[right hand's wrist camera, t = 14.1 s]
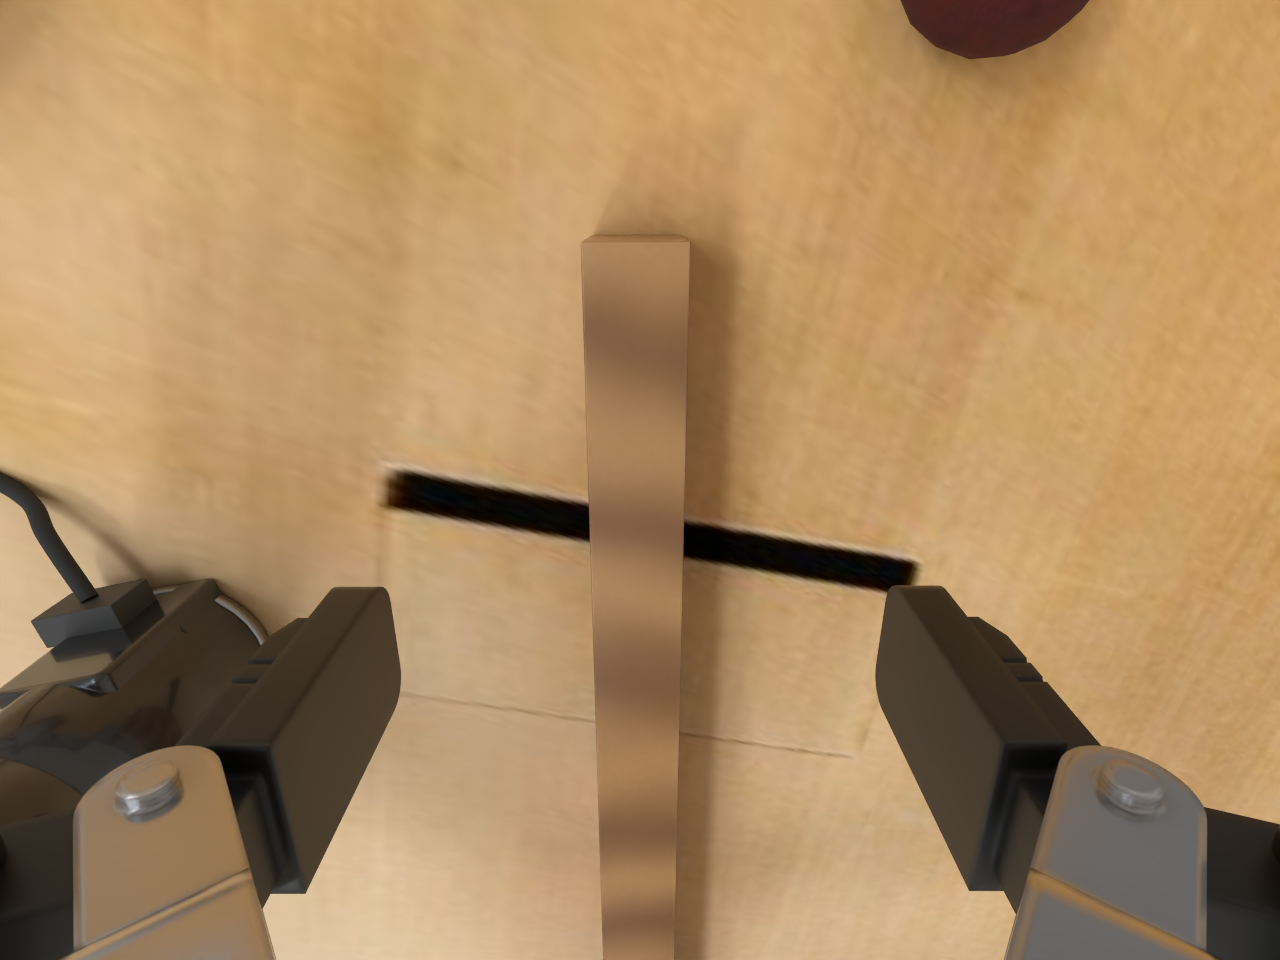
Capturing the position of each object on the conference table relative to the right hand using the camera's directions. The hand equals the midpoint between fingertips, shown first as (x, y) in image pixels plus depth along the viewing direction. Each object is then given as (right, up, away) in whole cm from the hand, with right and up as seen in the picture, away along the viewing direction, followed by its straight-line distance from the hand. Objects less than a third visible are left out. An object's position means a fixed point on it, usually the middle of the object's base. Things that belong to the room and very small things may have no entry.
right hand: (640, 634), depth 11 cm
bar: (0, -15, +36) cm, 39 cm away
